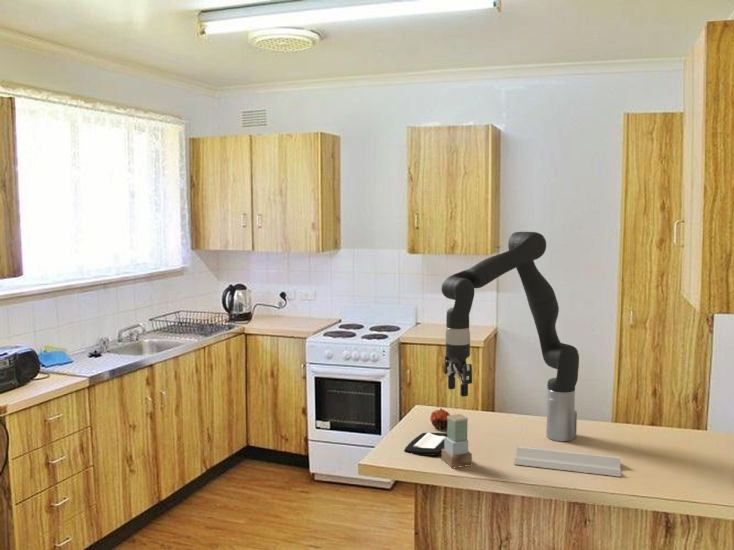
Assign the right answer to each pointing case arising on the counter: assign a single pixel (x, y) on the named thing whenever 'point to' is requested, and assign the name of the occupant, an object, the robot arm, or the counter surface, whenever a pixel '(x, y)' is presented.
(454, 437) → the tea tin
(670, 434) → the counter surface
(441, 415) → the pomegranate
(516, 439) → the counter surface
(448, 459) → the base block
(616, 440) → the counter surface
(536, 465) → the crown molding
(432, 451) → the black flat rectangular tray
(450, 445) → the mid block
